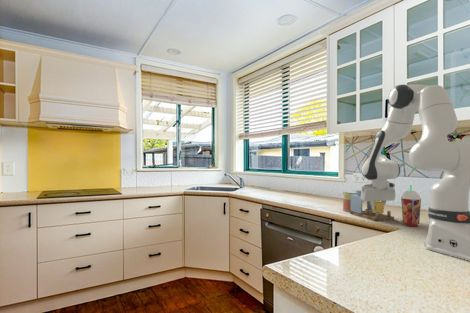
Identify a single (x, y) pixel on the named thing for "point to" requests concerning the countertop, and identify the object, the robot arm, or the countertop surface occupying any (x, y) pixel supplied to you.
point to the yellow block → (378, 207)
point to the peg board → (374, 215)
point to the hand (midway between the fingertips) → (377, 208)
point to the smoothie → (411, 208)
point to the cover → (358, 203)
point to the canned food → (347, 200)
